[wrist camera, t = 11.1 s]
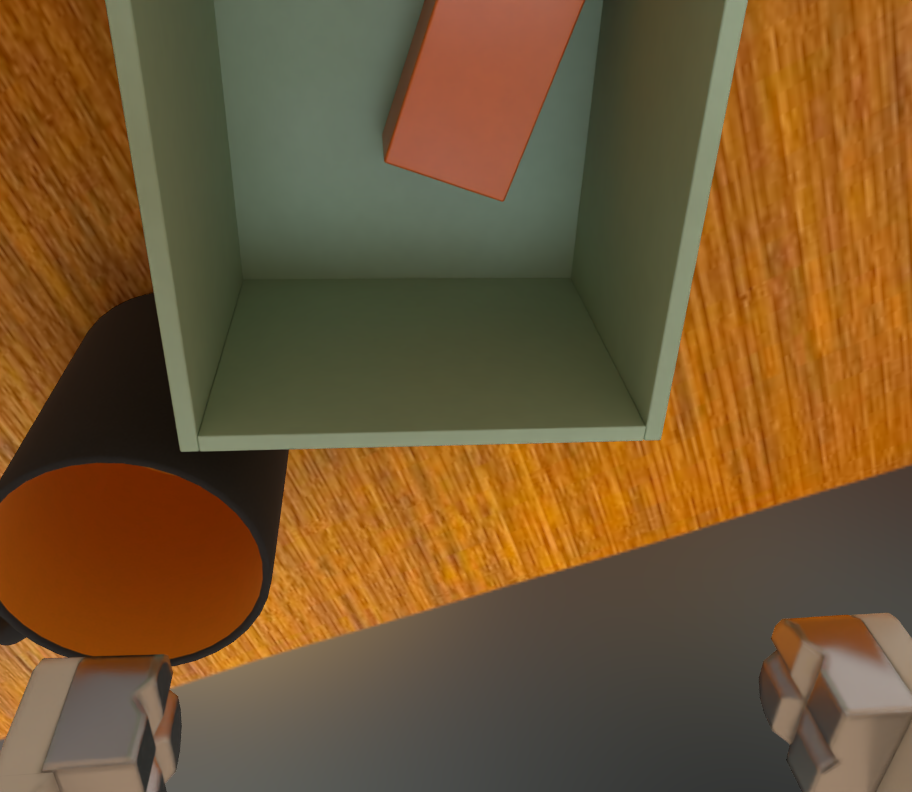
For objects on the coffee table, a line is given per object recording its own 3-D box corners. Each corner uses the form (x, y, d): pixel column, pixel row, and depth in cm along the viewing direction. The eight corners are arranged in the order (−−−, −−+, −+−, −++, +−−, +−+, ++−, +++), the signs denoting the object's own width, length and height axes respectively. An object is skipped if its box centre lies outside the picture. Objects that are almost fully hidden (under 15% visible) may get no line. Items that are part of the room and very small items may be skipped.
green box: (175, -217, 23) (59, -271, 14) (638, -194, 24) (794, -230, 16) (232, 285, 31) (179, 452, 22) (579, 284, 32) (661, 440, 23)
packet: (382, 162, 26) (381, 136, 28) (504, 203, 27) (492, 174, 29) (477, -128, 22) (464, -129, 24) (613, -68, 23) (588, -75, 25)
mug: (-29, 436, 33) (-169, 638, 25) (176, 245, 30) (99, 400, 21) (140, 549, 37) (71, 759, 28) (339, 391, 34) (330, 574, 25)
